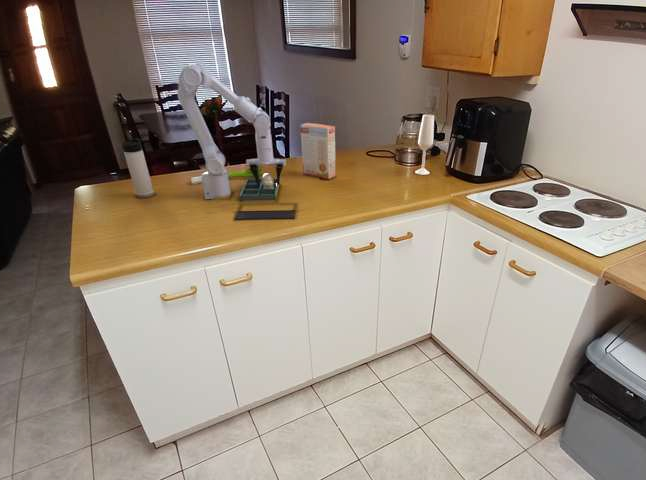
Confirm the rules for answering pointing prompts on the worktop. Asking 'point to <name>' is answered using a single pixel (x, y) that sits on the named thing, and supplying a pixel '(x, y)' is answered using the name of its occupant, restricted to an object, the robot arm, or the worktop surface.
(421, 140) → the champagne flute
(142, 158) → the travel mug
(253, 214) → the mat
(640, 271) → the worktop surface
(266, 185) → the egg
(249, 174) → the celery
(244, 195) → the teal compartment tray
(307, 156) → the cracker box
